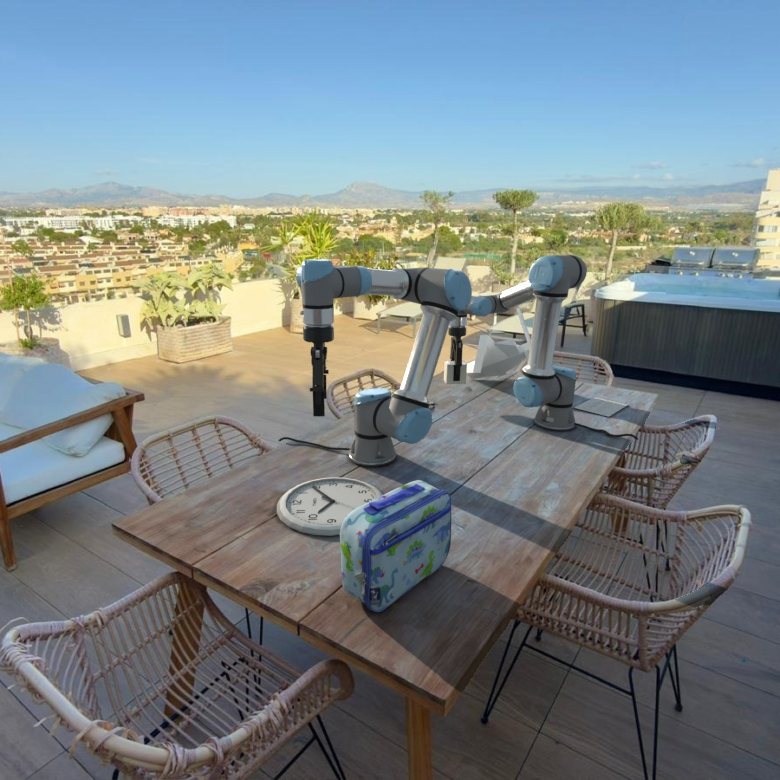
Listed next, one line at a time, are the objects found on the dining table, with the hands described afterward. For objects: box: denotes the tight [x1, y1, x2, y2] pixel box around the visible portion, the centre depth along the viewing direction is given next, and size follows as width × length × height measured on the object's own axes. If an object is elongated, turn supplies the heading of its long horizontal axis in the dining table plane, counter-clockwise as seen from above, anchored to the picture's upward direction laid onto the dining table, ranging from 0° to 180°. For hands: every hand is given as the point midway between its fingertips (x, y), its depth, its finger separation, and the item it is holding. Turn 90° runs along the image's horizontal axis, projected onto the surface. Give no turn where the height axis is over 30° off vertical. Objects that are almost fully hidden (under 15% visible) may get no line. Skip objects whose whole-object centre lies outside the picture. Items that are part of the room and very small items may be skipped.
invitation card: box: [573, 396, 629, 418], centre depth 226 cm, size 21×1×15 cm
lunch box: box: [339, 479, 452, 613], centre depth 109 cm, size 26×11×21 cm, turn 134°
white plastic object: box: [466, 307, 531, 380], centre depth 256 cm, size 37×45×31 cm
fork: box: [428, 395, 437, 406], centre depth 223 cm, size 3×16×2 cm, turn 160°
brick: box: [443, 360, 468, 385], centre depth 227 cm, size 8×6×9 cm
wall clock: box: [276, 476, 385, 537], centre depth 142 cm, size 30×2×30 cm
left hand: (320, 406), depth 134 cm, fingers open, 13 cm apart
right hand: (454, 378), depth 228 cm, fingers closed on brick, 6 cm apart
